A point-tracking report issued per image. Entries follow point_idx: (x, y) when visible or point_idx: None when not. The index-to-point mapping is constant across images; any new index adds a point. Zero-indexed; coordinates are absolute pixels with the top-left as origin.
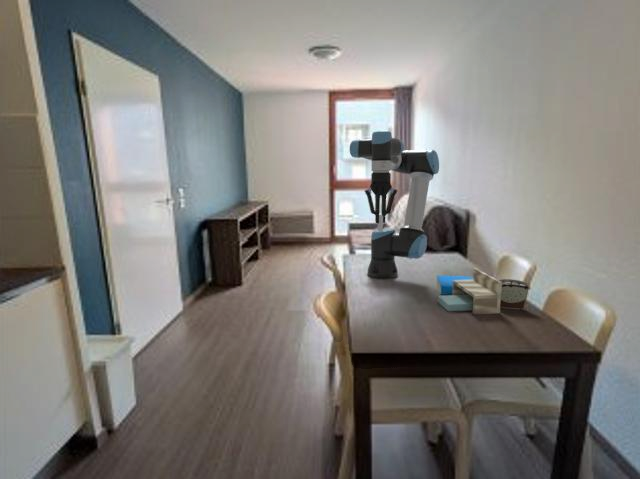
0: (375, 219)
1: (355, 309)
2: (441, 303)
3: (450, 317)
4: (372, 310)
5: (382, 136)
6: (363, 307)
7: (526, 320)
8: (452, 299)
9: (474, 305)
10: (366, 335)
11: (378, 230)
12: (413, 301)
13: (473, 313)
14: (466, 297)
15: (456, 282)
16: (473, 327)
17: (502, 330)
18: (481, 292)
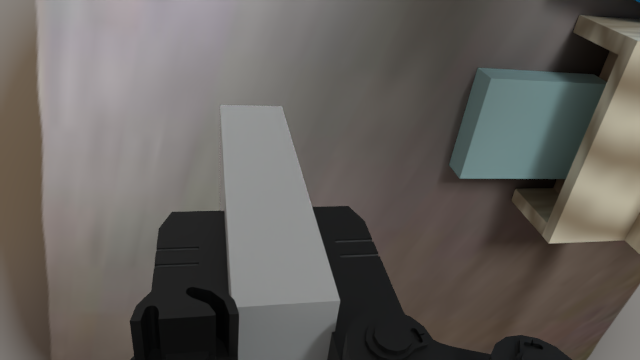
0: (155, 276)
1: (62, 100)
2: (469, 109)
3: (421, 215)
4: (148, 122)
5: None
6: (107, 81)
7: (605, 249)
8: (515, 129)
9: (528, 215)
10: (93, 311)
11: (220, 166)
12: (378, 43)
13: (513, 194)
14: (582, 115)
15: (620, 81)
16: (436, 279)
17: (493, 296)
18: (596, 215)
